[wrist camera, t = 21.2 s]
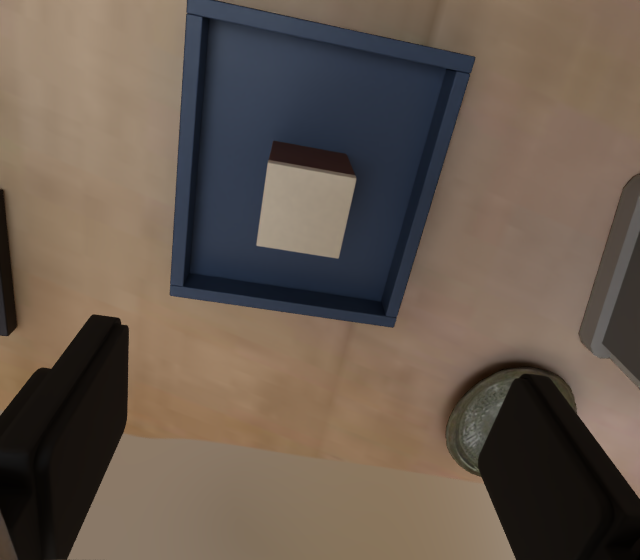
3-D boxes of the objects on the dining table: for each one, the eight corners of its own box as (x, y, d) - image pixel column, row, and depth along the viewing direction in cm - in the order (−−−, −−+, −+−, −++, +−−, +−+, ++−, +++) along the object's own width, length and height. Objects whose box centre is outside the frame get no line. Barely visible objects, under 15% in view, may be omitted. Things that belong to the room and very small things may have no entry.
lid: (428, 440, 42) (444, 497, 38) (449, 369, 35) (470, 429, 32) (546, 431, 43) (573, 486, 39) (587, 359, 36) (624, 417, 32)
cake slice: (273, 140, 28) (267, 162, 23) (346, 153, 29) (357, 178, 24) (263, 211, 30) (256, 246, 25) (332, 222, 31) (338, 259, 26)
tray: (197, -2, 25) (187, -6, 23) (461, 55, 27) (476, 57, 25) (178, 278, 32) (169, 296, 30) (387, 309, 34) (394, 328, 32)
